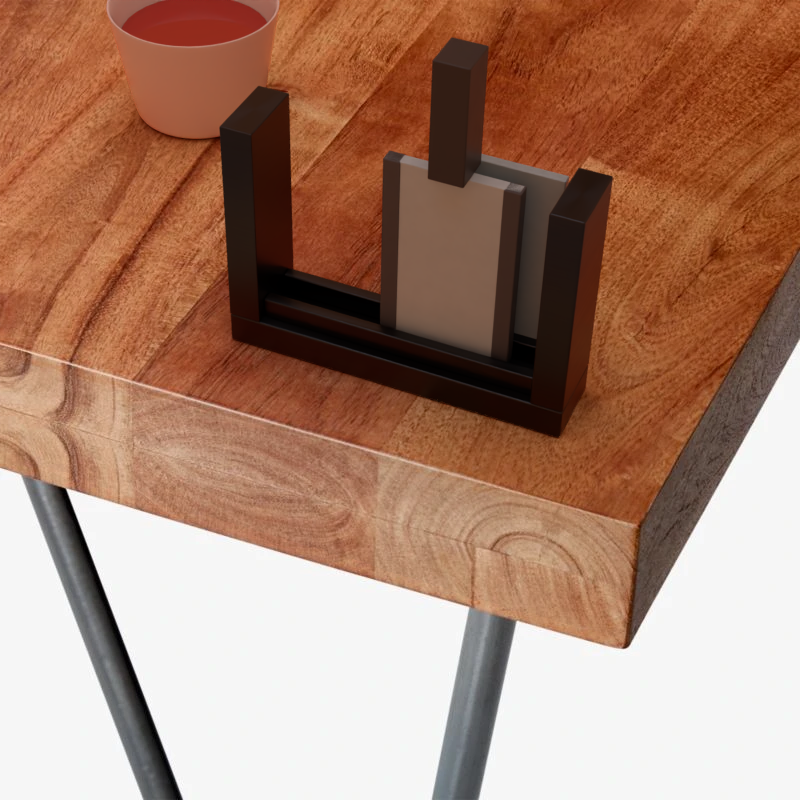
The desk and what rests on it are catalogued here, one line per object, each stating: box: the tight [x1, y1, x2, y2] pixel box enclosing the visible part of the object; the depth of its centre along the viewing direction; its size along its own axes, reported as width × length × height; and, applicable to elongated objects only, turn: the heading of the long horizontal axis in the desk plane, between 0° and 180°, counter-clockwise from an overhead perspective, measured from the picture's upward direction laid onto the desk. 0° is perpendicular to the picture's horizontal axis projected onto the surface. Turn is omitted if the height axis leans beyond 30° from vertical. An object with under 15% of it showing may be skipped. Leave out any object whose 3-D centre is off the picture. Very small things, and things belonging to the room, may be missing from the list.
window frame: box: [219, 86, 614, 438], centre depth 72 cm, size 16×4×12 cm, turn 67°
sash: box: [379, 36, 527, 362], centre depth 69 cm, size 6×2×15 cm, turn 67°
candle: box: [105, 0, 281, 140], centre depth 89 cm, size 9×9×6 cm
